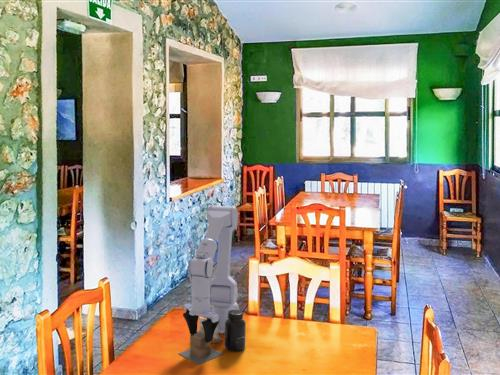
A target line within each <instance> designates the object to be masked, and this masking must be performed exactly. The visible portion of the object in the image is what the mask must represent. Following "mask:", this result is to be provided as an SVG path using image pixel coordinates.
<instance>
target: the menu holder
mask: <svg viewBox="0 0 500 375" xmlns="http://www.w3.org/2000/svg"><path fill="white" fill-rule="evenodd" d="M205 320H207V318H204V317H202V316H199V317H198V322H199V323H198V329H197V333H199V332H203V333H205V332H204V328H203V325H202V321H205ZM222 341H223V338H222V336H220V335H219V332H218V325H217V327H216V329H215V331H214V335H213V339H212V341H211V343H213V344H217V343H219V342H222Z"/></svg>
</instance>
